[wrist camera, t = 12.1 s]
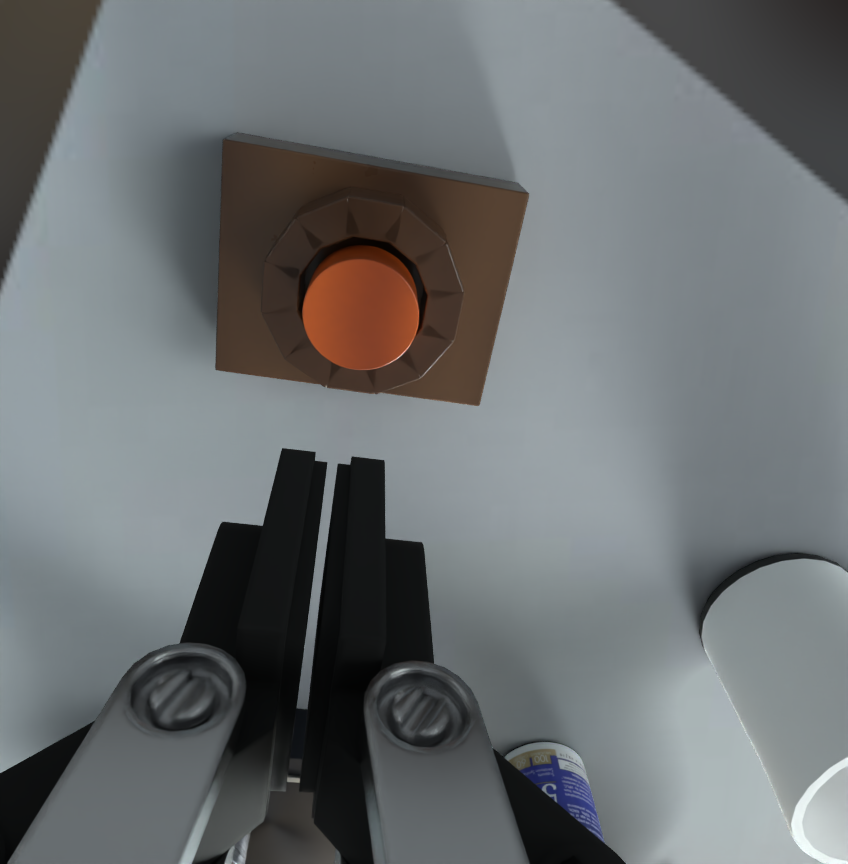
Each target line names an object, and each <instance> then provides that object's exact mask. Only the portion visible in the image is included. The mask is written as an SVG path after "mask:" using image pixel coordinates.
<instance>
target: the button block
mask: <svg viewBox="0 0 848 864" xmlns="http://www.w3.org/2000/svg"><path fill="white" fill-rule="evenodd" d="M528 198H529V193H528V192H527V191H526V190H525V189H524V188H523V187H522V186H521V185H520V184H519V183H516V182H511V181H505V180H500V179H494V178H488V177H483V176H477V175H472V174H466V173H461V172H455V171H449V170H444V169H438V168H433V167H427V166H422V165H416V164H410V163H405V162H399V161H394V160H388V159H383V158H377V157H371V156H366V155H360V154H355V153H349V152H344V151H338V150H332V149H327V148H321V147H316V146H310V145H305V144H299V143H293V142H288V141H282V140H277V139H271V138H266V137H260V136H254V135H249V134H243V133H235V134H233V135H231V136H229V137H227V138H225V139H223V145H222V176H221V208H220V239H219V270H218V302H217V333H216V364H215V368H216V370H219V371H226V372H234V373H241V374H248V375H255V376H263V377H270V378H277V379H285V380H292V381H299V382H306V383H314V384H321V385H322V386H324V387H327V388H333V389H340V390H347V391H355V392H362V393H369V394H378V393H386V394H394V395H401V396H408V397H416V398H423V399H430V400H437V401H445V402H452V403H459V404H467V405H474V406H479V405H480V401H481V397H482V393H483V389H484V384H485V380H486V376H487V372H488V367H489V363H490V359H491V355H492V350H493V346H494V342H495V338H496V334H497V329H498V325H499V321H500V317H501V312H502V308H503V304H504V300H505V295H506V291H507V287H508V283H509V279H510V274H511V270H512V266H513V262H514V257H515V253H516V249H517V245H518V241H519V236H520V232H521V228H522V224H523V219H524V215H525V211H526V207H527V202H528ZM354 245H367V246H373V247H378V248H380V249H383V250H385V251H387V252H389V253H391V254H392V255H394V256H395V257H397V258H398V259H399V260H400V261H401V262H402V263H403V264H404V265H405V267H406V268H407V269H408V271H409V272H410V274H411V276H412V278H413V280H414V283H415V286H416V292H417V299H418V307H419V324H418V329H417V332H416V335H415V337H414V340H413V341H412V343H411V345H410V346H409V348H408V349H407V350H406V351H405V352H404V353H403V354H402V355H401V356H400V357H399V358H397V359H396V360H395V361H393V362H391V363H390V364H387V365H385V366H383V367H380V368H376V369H370V370H354V369H349V368H345V367H342V366H339V365H337V364H335V363H333V362H331V361H330V360H328V359H326V358H325V357H324V356H323V355H322V354H320V353H319V352H318V350H317V349H316V348H315V347H314V346H313V344H312V343H311V341H310V339H309V338H308V336H307V333H306V331H305V328H304V324H303V317H302V308H303V302H304V298H305V295H306V292H307V289H308V286H309V283H310V280H311V278H312V275H313V273H314V271H315V270H316V268H317V267H318V265H319V264H320V263H321V262H322V261H323V260H324V259H325V258H326V257H327V256H329V255H330V254H332V253H333V252H335V251H337V250H339V249H342V248H345V247H348V246H354Z"/></svg>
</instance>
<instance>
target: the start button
mask: <svg viewBox="0 0 848 864" xmlns="http://www.w3.org/2000/svg"><path fill="white" fill-rule="evenodd" d="M302 317H303V324H304V328H305V331H306V333H307V336H308V338H309V339H310V341H311V343H312V344H313V346H314V347H315V348H316V349H317V350H318V352H319V353H320V354H322V355H323V356H324V357H325V358H326V359H328V360H330V361H331V362H333V363H335V364H337V365H339V366H342V367H345V368H349V369H354V370H370V369H376V368H380V367H383V366H385V365H387V364H390V363H391V362H393V361H395V360H396V359H397V358H399V357H400V356H401V355H402V354H403V353H404V352H405V351H406V350H407V349H408V348H409V346H410V345H411V343H412V341H413V340H414V337H415V335H416V332H417V329H418V324H419V307H418V299H417V292H416V286H415V283H414V280H413V278H412V276H411V274H410V272H409V271H408V269H407V268H406V267H405V265H404V264H403V263H402V262H401V261H400V260H399V259H398V258H397V257H395V256H394V255H392V254H391V253H389V252H387V251H385V250H383V249H380V248H378V247H373V246H367V245H354V246H348V247H345V248H342V249H339V250H337V251H335V252H333V253H332V254H330V255H329V256H327V257H326V258H325V259H324V260H323V261H322V262H321V263H320V264H319V265H318V267H317V268H316V270H315V271H314V273H313V275H312V278H311V280H310V283H309V286H308V289H307V292H306V295H305V298H304V302H303V308H302Z"/></svg>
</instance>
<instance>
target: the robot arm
mask: <svg viewBox="0 0 848 864" xmlns="http://www.w3.org/2000/svg"><path fill="white" fill-rule="evenodd" d="M315 453H316V452H310V451H302V450H293V449H285V448H282V451H281V455H280V459H279V463H278V467H277V471H276V475H275V479H274V483H273V487H272V491H271V495H270V499H269V503H268V507H267V511H266V515H265V519H264V523H263V526H258V525H249V524H239V523H230V522H222V523H221V524H220V527H219V529H218V532H217V535H216V538H215V541H214V543H213V546H212V549H211V552H210V555H209V558H208V561H207V564H206V567H205V570H204V573H203V576H202V579H201V582H200V585H199V588H198V590H197V593H196V596H195V599H194V602H193V605H192V608H191V611H190V614H189V617H188V620H187V623H186V626H185V629H184V632H183V635H182V637H181V640H180V643H179V644H174V645H168V646H165V647H163V648H160V649H158V650H155V651H152V652H150V653H148V654H147V655H146V656H144V657H143V658H141V659H140V660H138V661H137V662H135V663H134V664H133V665H132V666H131V668H130V669H129V670H128V671H127V672H126V673H125V675H124V676H123V677H122V678H121V680H120V682H119V683H118V685H117V687H116V688H115V690H114V691H113V693H112V695H111V696H110V698H109V699H108V701H107V703H106V704H105V706H104V708H103V709H102V711H101V712H100V714H99V716H98V717H97V719H96V720H95V721H94V722H92V723H90V724H88V725H87V726H85V727H83V728H81V729H79V730H78V731H76V732H74V733H72V734H70V735H69V736H67V737H65V738H63V739H61V740H60V741H58V742H56V743H54V744H52V745H51V746H49V747H47V748H45V749H43V750H42V751H40V752H38V753H36V754H34V755H33V756H31V757H29V758H27V759H25V760H24V761H22V762H20V763H18V764H16V765H15V766H13V767H11V768H9V769H7V770H6V771H4V772H2V773H0V864H231V863H232V859H233V854H234V848H235V844H236V843H237V842H238V841H240V840H241V839H242V838H243V837H245V836H246V835H247V834H248V833H250V832H251V831H252V830H253V829H255V828H256V827H257V826H258V825H260V824H261V823H262V822H263V821H264V818H265V816H267V810H268V803H269V796H270V791H286V785H287V778H288V770H289V762H290V754H291V746H292V739H293V731H294V723H295V715H296V707H297V700H298V692H299V684H300V676H301V668H302V661H303V653H304V645H305V637H306V629H307V622H308V614H309V606H310V598H311V590H312V582H313V574H314V566H315V558H316V550H317V542H318V534H319V526H320V518H321V510H322V502H323V494H324V486H325V478H326V470H327V462H321V461H315ZM299 792H306V793H313V805H312V816H311V818H313V819H314V824H315V825H316V827H317V828H318V829H319V830H320V831H321V832H322V833H323V834H324V836H325V837H326V838H327V839H328V840H329V841H330V842H331V843H332V845H333V846H334V847H335V860H334V864H626V863H625V862H624V861H623V860H622V859H621V858H620V857H619V856H618V855H617V854H616V853H615V852H614V851H613V850H612V849H611V848H609V847H608V846H607V845H606V844H605V843H604V842H602V841H601V840H600V839H599V838H598V837H596V836H595V835H594V834H593V833H592V832H591V831H589V830H588V829H587V828H586V827H585V826H584V825H582V824H581V823H580V822H579V821H578V820H577V819H575V818H574V817H573V816H572V815H571V814H570V813H568V812H567V811H566V810H565V809H564V808H563V807H561V806H560V805H559V804H558V803H557V802H556V801H554V800H553V799H552V798H551V797H550V796H548V795H547V794H546V793H545V792H544V791H543V790H541V789H540V788H539V787H538V786H537V785H536V784H534V783H533V782H532V781H531V780H530V779H529V778H527V777H526V776H525V775H524V774H523V773H522V772H520V771H519V770H518V769H517V768H516V767H515V766H513V765H512V764H511V763H510V762H509V761H507V760H506V759H505V758H504V757H503V756H502V755H500V754H499V753H498V752H497V751H496V750H495V749H493V748H492V745H491V742H490V739H489V736H488V733H487V730H486V727H485V723H484V720H483V717H482V714H481V711H480V708H479V705H478V702H477V700H476V698H475V696H474V694H473V692H472V690H471V689H470V688H469V687H468V686H467V684H466V683H465V682H464V681H463V680H462V679H461V678H460V677H459V676H457V675H456V674H454V673H453V672H451V671H449V670H448V669H446V668H445V667H442V666H439V665H436V664H434V655H433V644H432V633H431V621H430V610H429V599H428V587H427V576H426V565H425V553H424V546H423V544H422V542H412V541H403V540H393V539H385V462H384V460H377V459H369V458H360V457H352V458H351V464H350V465H346V464H338V467H337V474H336V482H335V489H334V497H333V504H332V512H331V519H330V527H329V534H328V542H327V549H326V557H325V564H324V572H323V579H322V587H321V595H320V603H319V611H318V620H317V629H316V638H315V647H314V657H313V666H312V675H311V684H310V693H309V702H308V711H307V720H306V729H305V738H304V747H303V756H302V765H301V774H300V783H299Z"/></svg>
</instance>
